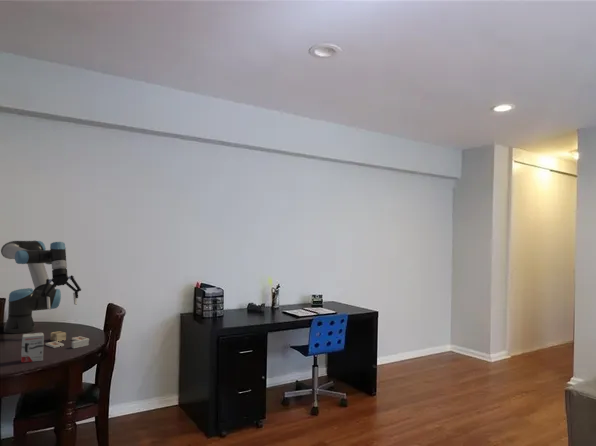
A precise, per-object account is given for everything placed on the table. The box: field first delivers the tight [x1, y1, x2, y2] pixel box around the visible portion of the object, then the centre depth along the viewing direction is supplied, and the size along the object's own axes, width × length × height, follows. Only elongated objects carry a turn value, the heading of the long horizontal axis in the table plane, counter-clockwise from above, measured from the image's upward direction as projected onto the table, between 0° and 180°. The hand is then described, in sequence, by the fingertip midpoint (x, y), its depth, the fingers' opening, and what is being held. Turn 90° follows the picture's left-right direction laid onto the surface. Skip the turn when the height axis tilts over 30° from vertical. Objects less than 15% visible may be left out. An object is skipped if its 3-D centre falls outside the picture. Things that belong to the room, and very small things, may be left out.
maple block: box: [49, 330, 67, 342], centre depth 242 cm, size 6×5×4 cm
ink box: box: [20, 332, 45, 363], centre depth 206 cm, size 8×5×12 cm, turn 123°
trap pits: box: [45, 335, 89, 349], centre depth 237 cm, size 8×19×1 cm, turn 148°
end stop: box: [71, 338, 90, 349], centre depth 231 cm, size 2×8×3 cm, turn 148°
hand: (62, 306), depth 250 cm, fingers open, 13 cm apart
